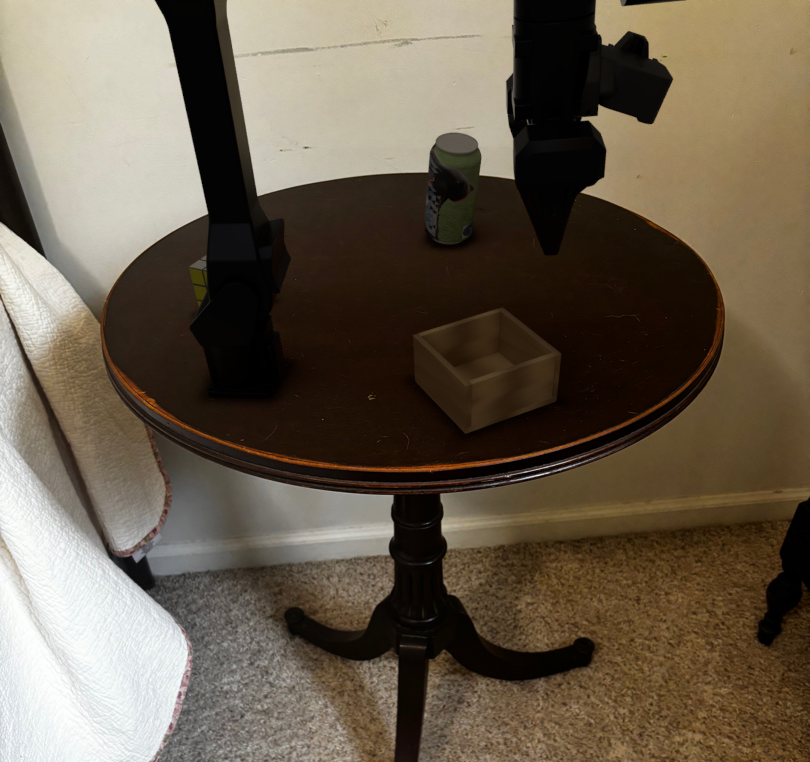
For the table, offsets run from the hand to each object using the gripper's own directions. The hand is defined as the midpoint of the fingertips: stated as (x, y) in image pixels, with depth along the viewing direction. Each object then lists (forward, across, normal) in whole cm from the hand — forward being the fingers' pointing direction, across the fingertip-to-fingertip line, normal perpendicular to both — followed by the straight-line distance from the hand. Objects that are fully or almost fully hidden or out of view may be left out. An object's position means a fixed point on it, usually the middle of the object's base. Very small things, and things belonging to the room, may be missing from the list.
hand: (546, 229), depth 67 cm
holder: (+14, -2, +6) cm, 15 cm away
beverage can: (+14, +31, +9) cm, 35 cm away
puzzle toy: (+13, +14, +33) cm, 38 cm away
